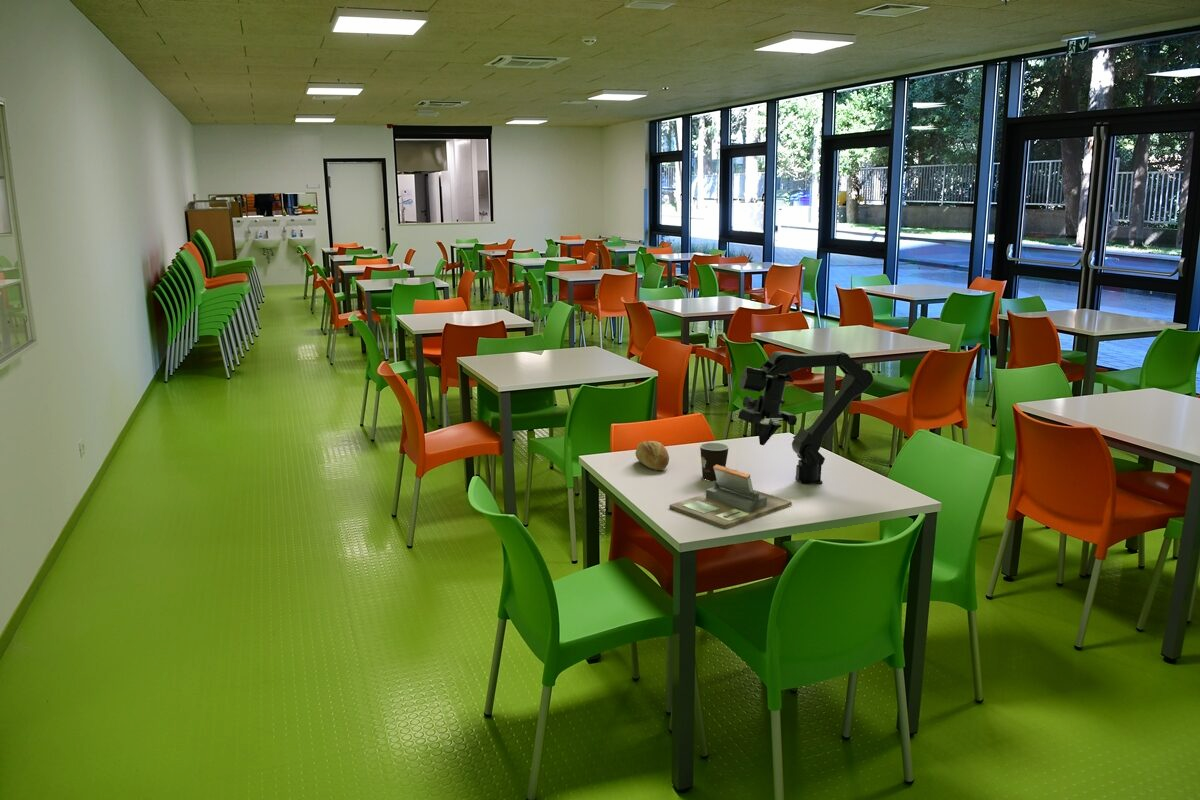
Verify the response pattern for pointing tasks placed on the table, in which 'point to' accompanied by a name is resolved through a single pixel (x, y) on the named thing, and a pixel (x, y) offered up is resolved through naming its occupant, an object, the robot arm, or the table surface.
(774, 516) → the table surface
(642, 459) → the bread roll
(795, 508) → the table surface
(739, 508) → the switch board
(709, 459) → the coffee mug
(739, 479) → the board
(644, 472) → the table surface
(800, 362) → the robot arm
